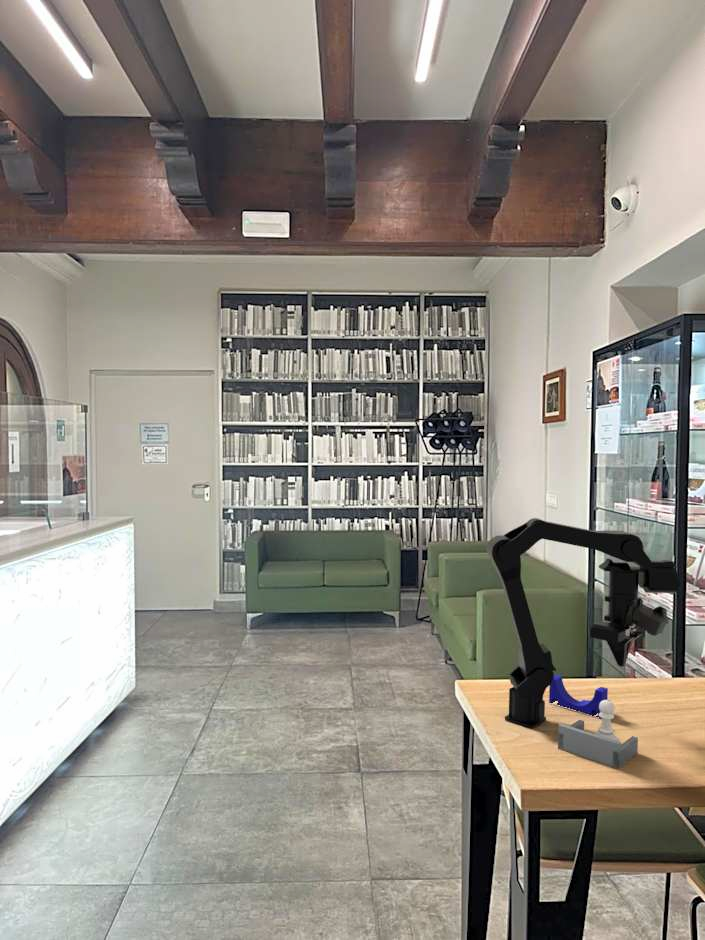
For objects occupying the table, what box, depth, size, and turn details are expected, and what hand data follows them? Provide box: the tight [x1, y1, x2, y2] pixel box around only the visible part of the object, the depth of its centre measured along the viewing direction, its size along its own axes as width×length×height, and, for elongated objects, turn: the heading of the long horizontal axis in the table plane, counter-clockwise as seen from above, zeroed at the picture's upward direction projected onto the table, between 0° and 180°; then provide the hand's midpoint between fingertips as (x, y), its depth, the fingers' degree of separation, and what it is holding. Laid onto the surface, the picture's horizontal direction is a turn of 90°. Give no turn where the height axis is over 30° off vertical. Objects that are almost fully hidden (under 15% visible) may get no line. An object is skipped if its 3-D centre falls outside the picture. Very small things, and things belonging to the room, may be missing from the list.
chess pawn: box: [594, 699, 621, 742], centre depth 131 cm, size 5×5×9 cm
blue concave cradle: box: [548, 674, 611, 719], centre depth 150 cm, size 12×4×6 cm, turn 47°
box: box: [557, 719, 639, 770], centre depth 129 cm, size 12×9×4 cm
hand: (621, 666), depth 142 cm, fingers closed
